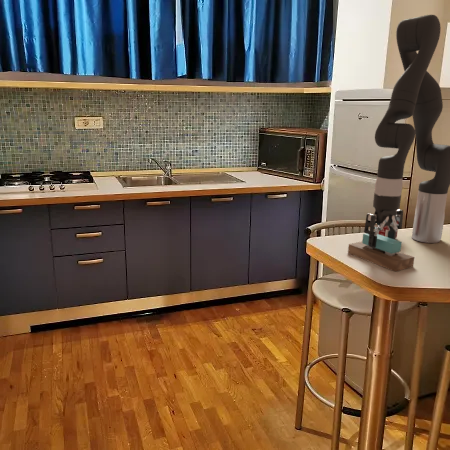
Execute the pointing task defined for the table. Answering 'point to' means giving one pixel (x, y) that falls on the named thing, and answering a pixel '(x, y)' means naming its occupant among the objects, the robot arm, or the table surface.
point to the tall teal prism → (384, 244)
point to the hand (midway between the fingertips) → (381, 244)
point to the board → (381, 257)
